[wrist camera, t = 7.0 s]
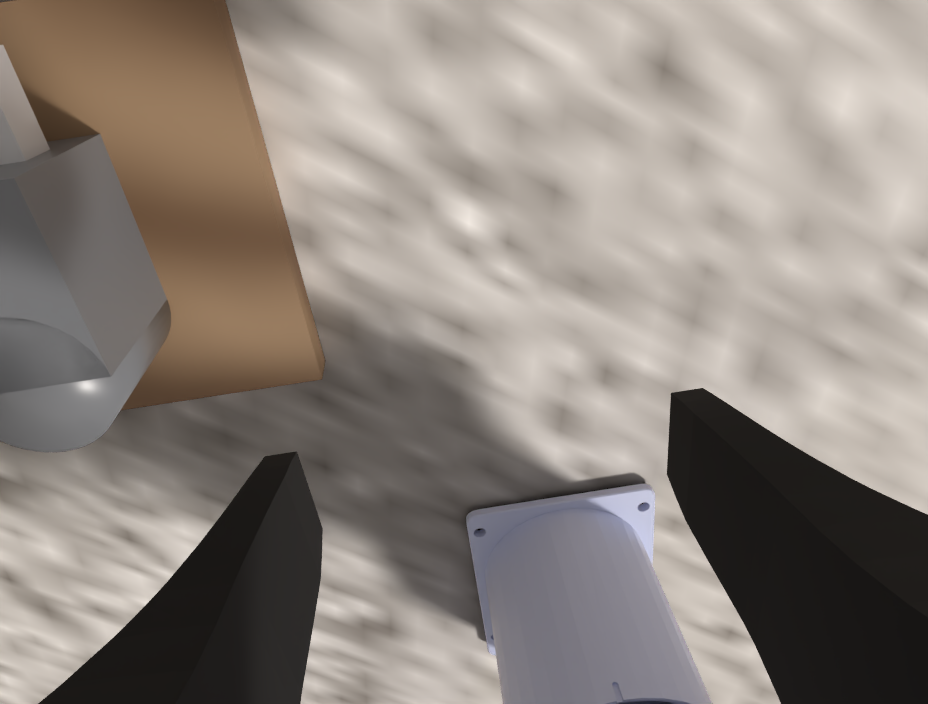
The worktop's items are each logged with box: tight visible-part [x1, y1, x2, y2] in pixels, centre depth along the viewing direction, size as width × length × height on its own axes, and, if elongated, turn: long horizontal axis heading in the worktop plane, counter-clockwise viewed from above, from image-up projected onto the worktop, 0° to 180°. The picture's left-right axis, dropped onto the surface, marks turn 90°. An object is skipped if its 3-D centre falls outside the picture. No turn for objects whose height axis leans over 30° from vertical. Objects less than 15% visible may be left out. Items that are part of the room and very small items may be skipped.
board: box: [0, 0, 325, 410], centre depth 19 cm, size 12×12×1 cm
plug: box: [0, 45, 171, 452], centre depth 16 cm, size 9×4×4 cm, turn 7°
